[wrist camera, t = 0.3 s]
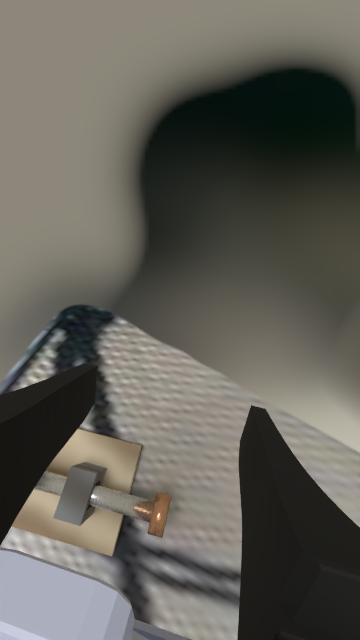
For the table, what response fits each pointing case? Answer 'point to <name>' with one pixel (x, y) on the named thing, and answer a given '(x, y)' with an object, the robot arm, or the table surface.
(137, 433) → the table surface
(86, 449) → the bearing board
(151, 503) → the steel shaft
